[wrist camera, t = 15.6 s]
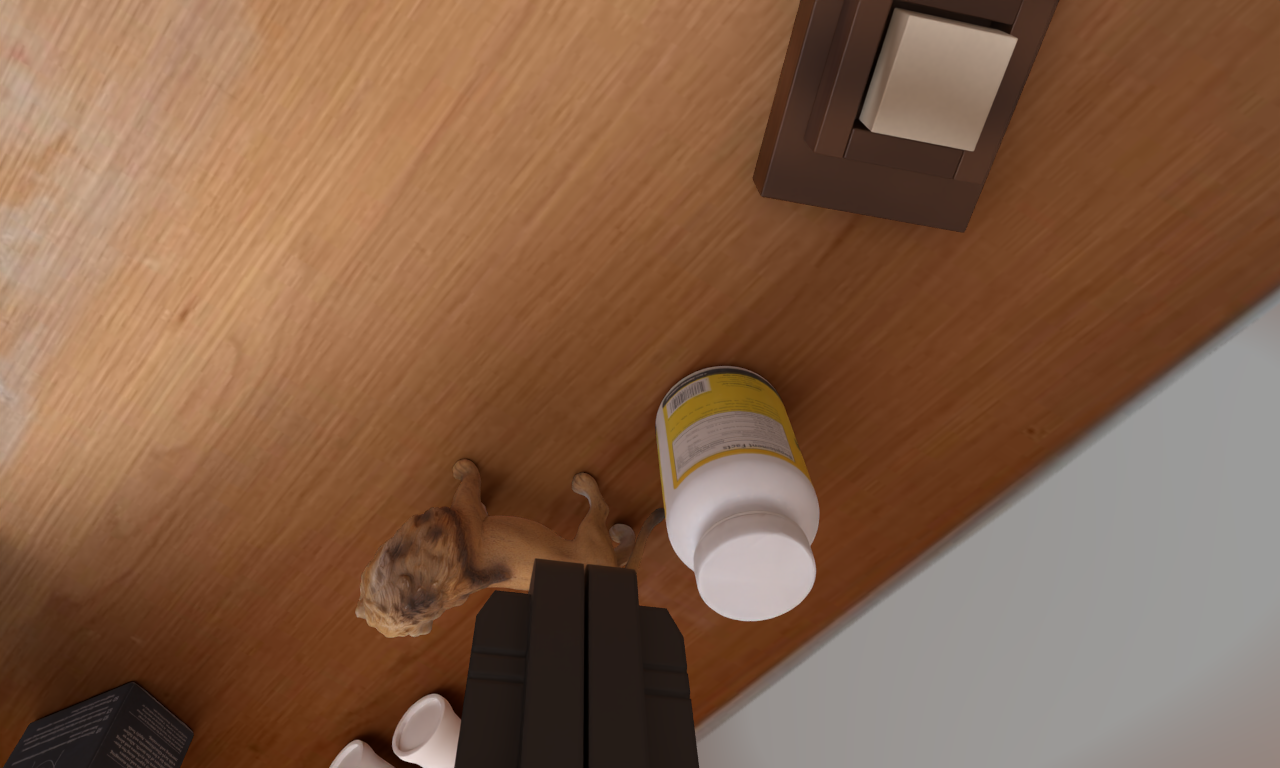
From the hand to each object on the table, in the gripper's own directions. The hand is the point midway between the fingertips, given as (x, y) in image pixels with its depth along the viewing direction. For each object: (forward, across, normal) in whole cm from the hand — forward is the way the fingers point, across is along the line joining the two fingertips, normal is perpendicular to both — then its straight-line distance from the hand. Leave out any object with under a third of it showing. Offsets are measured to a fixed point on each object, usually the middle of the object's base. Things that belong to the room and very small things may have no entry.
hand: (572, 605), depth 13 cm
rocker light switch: (+27, -12, -5) cm, 30 cm away
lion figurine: (+27, 0, +20) cm, 34 cm away
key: (+23, -12, -5) cm, 27 cm away
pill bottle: (+27, -9, +13) cm, 31 cm away
